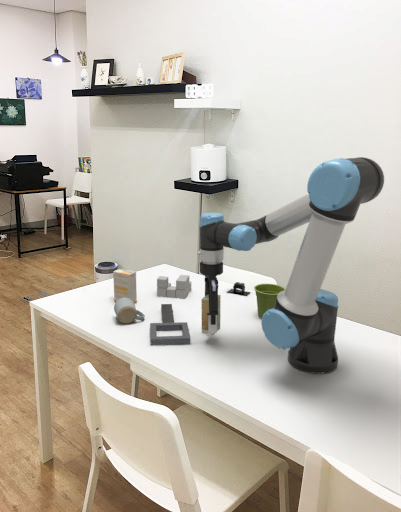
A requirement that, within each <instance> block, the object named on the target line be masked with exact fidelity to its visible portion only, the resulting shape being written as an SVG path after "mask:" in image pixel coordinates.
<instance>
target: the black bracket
mask: <svg viewBox="0 0 401 512" xmlns="http://www.w3.org/2000/svg"><path fill="white" fill-rule="evenodd" d="M245 290H246V285H245V283H244V282H240V281H239V282H238V281H237V282H235V283H234V284H233V287H232V288H231V289H229V290H228V291H226V294H227V293H228V294H232V295H238V296H243V297H248V296H250V294H252V292H249V291H245Z"/></svg>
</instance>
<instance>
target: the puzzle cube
mask: <svg viewBox="0 0 401 512" xmlns="http://www.w3.org/2000/svg"><path fill="white" fill-rule="evenodd" d="M191 291H192V281H190V274H189V275H188V274H187V275H186V274H180V275H179V276H178V278H177V279H176V280H175V286H172V283H171V282H169V276H163V275H159V276H158V277H157V278H156V297H158V298H167V299H168V298H170V299H178V298H179V300H186V298H188V295H189V294H190V292H191Z"/></svg>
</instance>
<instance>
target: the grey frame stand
mask: <svg viewBox="0 0 401 512" xmlns="http://www.w3.org/2000/svg"><path fill="white" fill-rule="evenodd" d="M160 306H161V309H160V311H161V321H162V322H150V323H149V335H150V346H173V345H175V346H176V345H177V346H178V345H179V346H181V345H182V346H183V345H191V340H192V339H191V334H190V330H189V325H188V321H187V322H185V321H184V322H175V318H174V312H173V304H172V303H161V304H160ZM173 331H175V332H176V331H177V332H178V331H179V332H180V331H181V333H182V335H165V336H164V335H163V336H160V335H159V336H157V332H173Z"/></svg>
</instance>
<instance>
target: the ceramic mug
mask: <svg viewBox="0 0 401 512" xmlns="http://www.w3.org/2000/svg"><path fill="white" fill-rule="evenodd" d="M113 310H114V311H113V312H114V313H115V315H116V318H117V320H118V321H119V323H122V324H124V325H128V324H131V323H133V322H134V321H135V320H137V321H140V322H141V321H144V320H145V318H146V317H145V316H146V315H145V314H144V313H143V312H142V311H140V310H138V309H137V308H136V303H135V304H134V302H133V301H132V300H131V299H129V298H120V299H119V300H117V301H116V302H115V303H114V305H113Z"/></svg>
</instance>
